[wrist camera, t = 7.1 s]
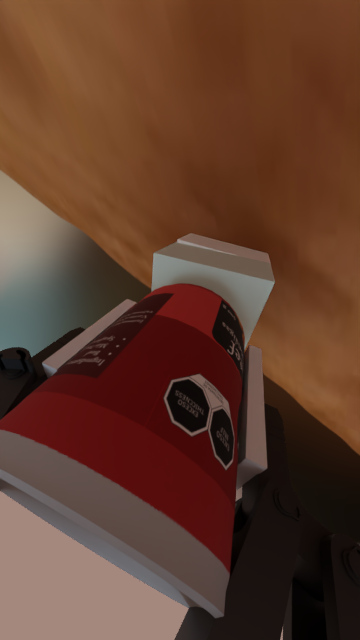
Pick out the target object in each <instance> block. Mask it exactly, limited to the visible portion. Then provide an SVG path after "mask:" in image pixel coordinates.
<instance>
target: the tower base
mask: <svg viewBox="0 0 360 640" xmlns="http://www.w3.org/2000/svg"><path fill="white" fill-rule="evenodd" d="M177 242H178V243H182V244H187V245H191V246H196V247H200V248H205V249H209V250H214V251H218V252H223V253H227V254H232V255H236V256H241V257H245V258H250V259H254V260H259V261H263V262H268V263H270V259H269V255H268V253H265V252H261V251H257V250H253V249H249V248H246V247H242V246H238V245H234V244H230V243H227V242H223V241H219V240H215V239H212V238H208V237H204V236H200V235H196V234H193V233H190V234H188V235H185V236H183V237H181V238H179V239H177ZM270 264H271V263H270Z"/></svg>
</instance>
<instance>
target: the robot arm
mask: <svg viewBox="0 0 360 640" xmlns="http://www.w3.org/2000/svg"><path fill="white" fill-rule="evenodd" d="M136 304H137V303H136V302H134V301H131V300H128V299H126V300H125V301H124V302H123V303H121V304H120V305H118V306H117V307H116V308H114V309H113V310H112V311H110V312H109V313H108V314H106V315H105V316H104V317H102V318H101V319H100V320H99V321H97V322H96V323H95V324H93V325H92V326H90V327H89V328H88V329H86V330H85V329H83V328H81V327H80V328H77V329H74V330H71V331H70V332H68V333H67V334H65V335H64V336H63V337H61V338H59V339H58V340H57V341H56V342H53V343H52V344H51V345H49V346H48V347H46V348H45V349H43V350H42V351H40V352H39V353H38V354H36V355H35V356H33V357H32V358H31V356H30V353H29V351H28V350H26V349H24V348H20V347H18V348H17V347H16V348H9V349H5V350H2V351H0V420H1V419H2V418H3V417H5V416H6V415H7V414H8V413H9V412H10V411H12V410H13V409H14V408H15V407H16V406H17V405H18V404H19V403H21V402H22V401H23V400H24V399H25V398H26V397H27V396H28V395H29V394H30V393H32V392H33V391H34V390H35V389H36V388H38V387H39V386H40V385H41V384H42V383H44V382H45V381H46V380H47V379H48V378H50V377H51V376H52V375H53V374H54V373H55V372H57V371H58V370H59V369H60V368H61V367H63V366H64V365H65V364H66V363H67V362H69V361H70V360H71V359H72V358H73V357H74V356H76V355H77V354H78V353H79V352H80V351H82V350H83V349H84V348H85V347H86V346H88V345H89V344H90V343H91V342H92V341H94V340H95V339H96V338H97V337H98V336H99V335H101V334H102V333H103V332H104V331H105V330H107V329H108V328H109V327H110V326H111V325H113V324H114V323H115V322H116V321H117V320H118V319H120V318H121V317H122V316H123V315H124V314H126V313H127V312H128V311H129V310H130V309H132V308H133V307H134V306H135V305H136ZM242 486H243V488H242V498H240V499H239V500H237V501H236V502H235V517H234V527H233V536H232V551H231V566H230V578H229V582H228V585H227V589H226V595H225V609H224V616H223V617H219V618H214V617H213V616H212V615H211V614H210V613H209V612H208V611H207V610H205V609H204V608H201V607H197V606H195V607H189V609H188V612H187V614H186V616H185V618H184V620H183V622H182V625H181V627H180V629H179V632H178V633H177V636H176V638H175V640H280V637H281V632H282V627H283V640H360V546H359V545H358V544H357V543H356V542H355V541H354V540H352V539H351V538H350V537H348V536H346V535H344V534H334V535H333V534H332V533H331V532H330V531H329V530H328V529H326V528H325V527H324V526H323V525H322V524H321V523H320V522H318V521H317V520H316V519H315V518H314V517H313V516H312V515H311V514H310V513H309V512H308V511H307V510H305V508H304V507H303V506H302V504H301V502H300V500H299V498H298V496H297V494H296V492H295V491H294V490H293V488H292V484H291V480H290V473H289V465H288V458H287V450H286V443H285V435H284V427H283V420H282V418H281V416H280V414H279V412H278V409H276V408H274V407H272V406H269V405H267V404H265V403H264V393H263V372H262V352H261V349H260V348H257V347H254V346H252V345H249V346H248V348H247V350H246V352H245V353H244V364H243V381H242V398H241V415H240V432H239V449H238V466H237V483H236V489H239V488H241V487H242Z"/></svg>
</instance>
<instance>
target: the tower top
mask: <svg viewBox="0 0 360 640" xmlns="http://www.w3.org/2000/svg"><path fill="white" fill-rule="evenodd" d="M178 283H185V284H194V285H199V286H202V287H204V288H207V289H209V290H212V291H213V292H215V293H216V294H218V295H220V296H221V297H222V298H223V299H224V300H225V301H227V302H228V303H229V304H230V306H231V307H232V308H233V310H234V311H235V312H236V314H237V316H238V318H239V320H240V322H241V324H242V327H243V330H244V335H245V347H246V345H247V343H248V341H249V339H250V336H251V334H252V332H253V330H254V328H255V325H256V323H257V321H258V319H259V317H260V314H261V312H262V310H263V308H264V305H265V303H266V301H267V299H268V297H269V294H270V292H271V290H272V288H273V286H274V283H275V280H274V276H273V272H272V268H271V264H270V263H268V262H263V261H259V260H254V259H250V258H245V257H241V256H236V255H232V254H227V253H223V252H218V251H214V250H209V249H205V248H200V247H196V246H191V245H187V244H182V243H178V242H175V243H173V244H171V245H169V246H167V247H165V248H162V249H160V250H158V251H156V252H154V256H153V274H152V291H154V290H155V289H158V288H160V287H163V286H167V285H173V284H178ZM245 347H244V350H245Z"/></svg>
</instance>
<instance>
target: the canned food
mask: <svg viewBox="0 0 360 640" xmlns="http://www.w3.org/2000/svg"><path fill="white" fill-rule="evenodd" d="M244 347H245V335H244V330H243V327H242V324H241V322H240V320H239V318H238V316H237V314H236V312H235V311H234V310H233V308H232V307H231V306H230V304H229V303H228V302H227V301H225V300H224V299H223V298H222V297H221V296H220V295H218V294H216V293H215V292H213V291H212V290H209V289H207V288H204V287H202V286H199V285H194V284H185V283H178V284H173V285H167V286H163V287H160V288H158V289H155V290H154V291H152V292H151V293H150V294H149V295H147V296H146V297H145V298H143V299H142V300H141V301H140V302H139V303H138V304H136V305H135V306H134V307H133V308H132V309H130V310H129V311H128V312H127V313H126V314H124V315H123V316H122V317H121V318H120V319H118V320H117V321H116V322H115V323H114V324H113V325H111V326H110V327H109V328H108V329H107V330H105V331H104V332H103V333H102V334H101V335H99V336H98V337H97V338H96V339H95V340H94V341H92V342H91V343H90V344H89V345H88V346H86V347H85V348H84V349H83V350H82V351H80V352H79V353H78V354H77V355H76V356H74V357H73V358H72V359H71V360H70V361H69V362H67V363H66V364H65V365H64V366H63V367H61V368H60V369H59V370H58V371H57V372H55V373H54V374H53V375H52V376H51V377H50V378H48V379H47V380H46V381H45V382H44V383H42V384H41V385H40V386H39V387H38V388H36V389H35V390H34V391H33V392H32V393H30V394H29V395H28V396H27V397H26V398H25V399H24V400H23V401H22V402H21V403H19V404H18V405H17V406H16V407H15V408H14V409H13V410H12V411H10V412H9V413H8V414H7V415H6V416H5V417H3V418H2V419H1V420H0V491H2V492H3V493H5V494H6V495H7V496H9V497H10V498H12V499H13V500H15V501H16V502H18V503H19V504H21V505H22V506H24V507H25V508H27V509H28V510H30V511H31V512H33V513H34V514H36V515H37V516H39V517H40V518H42V519H43V520H45V521H46V522H48V523H49V524H51V525H52V526H54V527H56V528H57V529H59V530H60V531H62V532H63V533H65V534H66V535H68V536H69V537H71V538H73V539H74V540H76V541H77V542H79V543H80V544H82V545H84V546H85V547H87V548H88V549H90V550H92V551H93V552H95V553H97V554H98V555H100V556H101V557H103V558H104V559H106V560H108V561H110V562H111V563H112V564H114V565H116V566H117V567H119V568H121V569H122V570H124V571H126V572H127V573H129V574H131V575H132V576H134V577H136V578H137V579H139V580H141V581H142V582H144V583H146V584H147V585H149V586H151V587H152V588H154V589H156V590H158V591H159V592H161V593H163V594H165V595H166V596H168V597H170V598H171V599H173V600H175V601H177V602H179V603H181V604H182V605H184V606H186V607H188V608H189V607H195V606H197V607H201V608H204V609H205V610H207V611H208V612H209V613H210V614H211V615H212V616H213V617H214V618H219V617H223V616H224V609H225V595H226V589H227V585H228V582H229V578H230V566H231V551H232V536H233V527H234V517H235V499H236V483H237V466H238V449H239V432H240V415H241V398H242V381H243V364H244Z"/></svg>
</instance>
